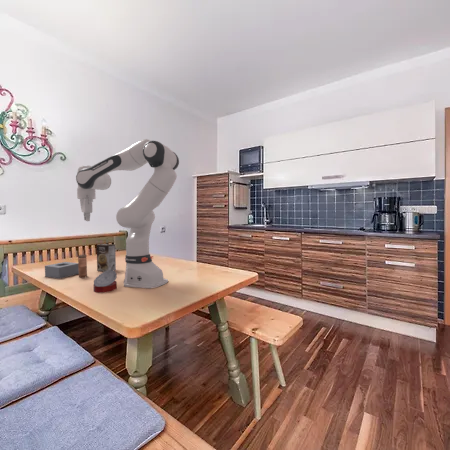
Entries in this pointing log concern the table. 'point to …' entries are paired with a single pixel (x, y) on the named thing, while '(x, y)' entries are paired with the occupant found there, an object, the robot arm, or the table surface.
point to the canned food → (105, 282)
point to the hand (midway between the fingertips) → (86, 220)
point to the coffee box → (106, 257)
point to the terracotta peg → (82, 266)
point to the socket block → (61, 270)
